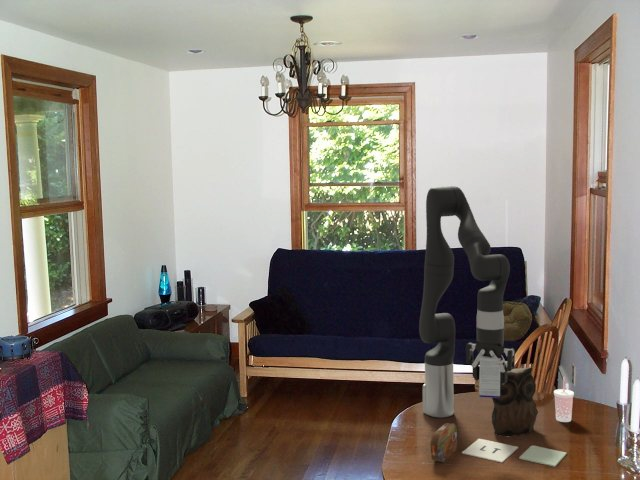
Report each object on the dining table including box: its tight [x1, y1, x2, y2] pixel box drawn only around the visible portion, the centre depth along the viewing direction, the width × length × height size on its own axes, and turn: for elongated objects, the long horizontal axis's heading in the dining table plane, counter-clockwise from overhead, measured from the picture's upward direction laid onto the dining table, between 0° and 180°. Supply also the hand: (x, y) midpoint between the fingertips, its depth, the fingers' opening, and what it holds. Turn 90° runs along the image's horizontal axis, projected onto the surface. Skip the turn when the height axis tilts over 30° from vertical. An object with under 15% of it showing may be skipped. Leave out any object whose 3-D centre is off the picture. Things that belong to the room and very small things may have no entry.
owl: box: [491, 366, 539, 438], centre depth 223 cm, size 13×13×20 cm
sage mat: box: [518, 445, 568, 468], centre depth 205 cm, size 10×10×1 cm
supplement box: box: [478, 356, 500, 399], centre depth 208 cm, size 6×6×12 cm
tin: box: [430, 422, 459, 463], centre depth 207 cm, size 15×3×8 cm, turn 148°
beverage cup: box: [553, 376, 575, 423], centre depth 232 cm, size 6×6×14 cm
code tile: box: [461, 438, 519, 463], centre depth 210 cm, size 12×12×1 cm
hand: (489, 381), depth 208 cm, fingers closed on supplement box, 7 cm apart
